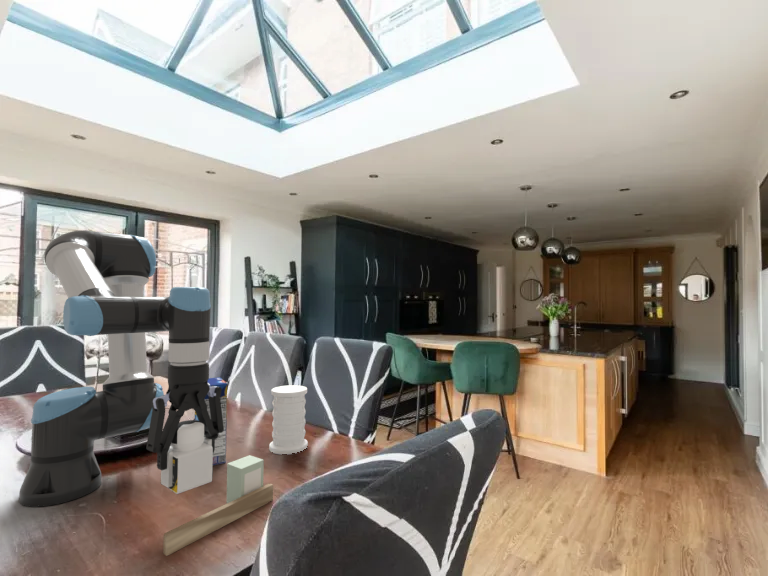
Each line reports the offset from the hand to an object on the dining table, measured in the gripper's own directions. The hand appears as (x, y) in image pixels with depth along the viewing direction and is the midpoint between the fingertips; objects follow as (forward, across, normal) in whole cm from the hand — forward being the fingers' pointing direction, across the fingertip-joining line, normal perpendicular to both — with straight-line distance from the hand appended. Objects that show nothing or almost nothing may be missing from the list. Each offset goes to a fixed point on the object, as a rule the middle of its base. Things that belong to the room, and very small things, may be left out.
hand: (186, 477), depth 80 cm
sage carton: (+10, -13, +1) cm, 16 cm away
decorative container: (+10, -42, -16) cm, 46 cm away
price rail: (+10, -5, +5) cm, 12 cm away
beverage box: (+10, -23, -28) cm, 37 cm away
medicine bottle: (+1, 0, 0) cm, 1 cm away
